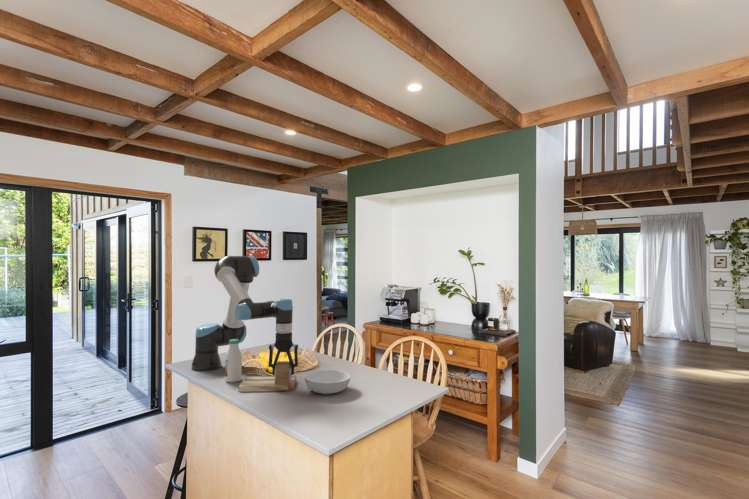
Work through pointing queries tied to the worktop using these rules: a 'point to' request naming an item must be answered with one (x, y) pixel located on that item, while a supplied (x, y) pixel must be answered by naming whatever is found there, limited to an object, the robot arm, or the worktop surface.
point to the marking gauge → (282, 375)
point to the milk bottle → (233, 362)
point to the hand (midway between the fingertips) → (283, 381)
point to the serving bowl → (327, 381)
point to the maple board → (262, 384)
